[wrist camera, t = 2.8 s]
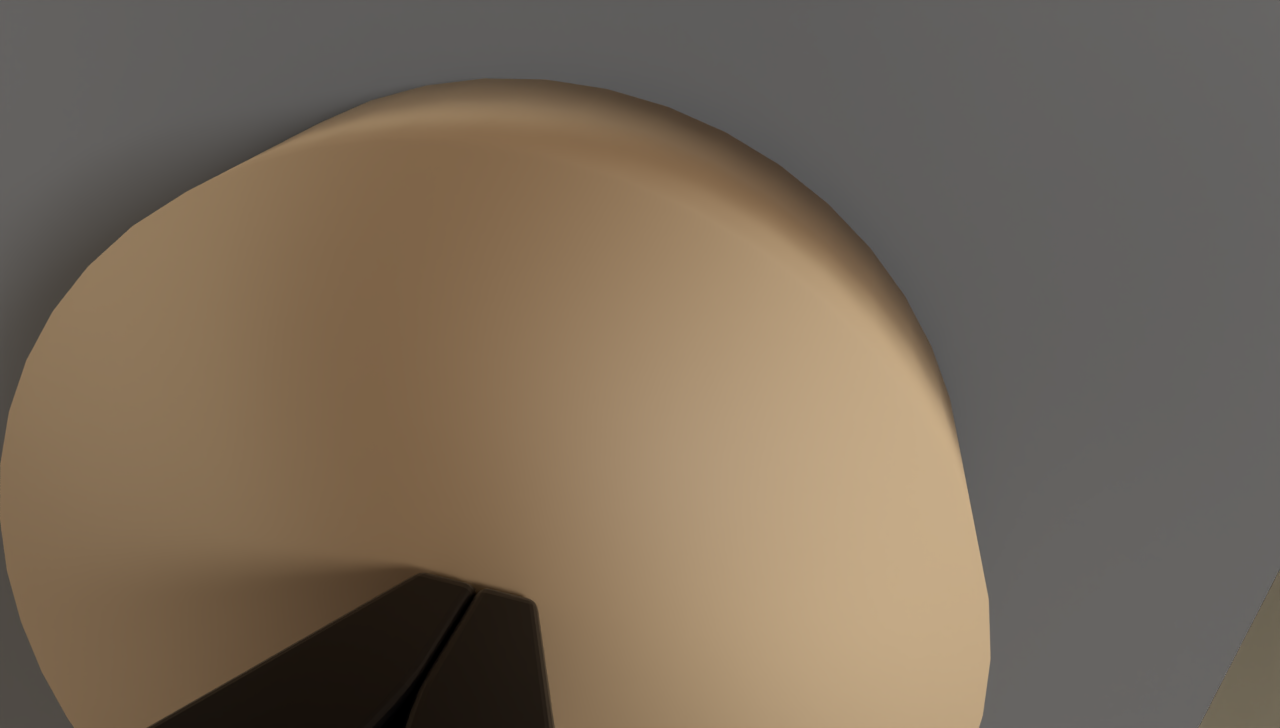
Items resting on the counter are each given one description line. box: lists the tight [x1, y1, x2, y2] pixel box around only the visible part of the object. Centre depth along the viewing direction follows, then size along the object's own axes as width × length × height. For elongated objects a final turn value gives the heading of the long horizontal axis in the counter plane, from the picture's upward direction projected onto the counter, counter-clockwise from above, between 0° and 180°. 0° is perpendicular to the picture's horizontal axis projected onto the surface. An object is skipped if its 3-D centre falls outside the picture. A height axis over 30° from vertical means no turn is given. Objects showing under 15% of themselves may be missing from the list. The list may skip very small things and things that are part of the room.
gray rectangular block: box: [0, 0, 1280, 728], centre depth 13 cm, size 12×14×6 cm
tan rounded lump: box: [0, 78, 991, 728], centre depth 11 cm, size 7×7×6 cm
